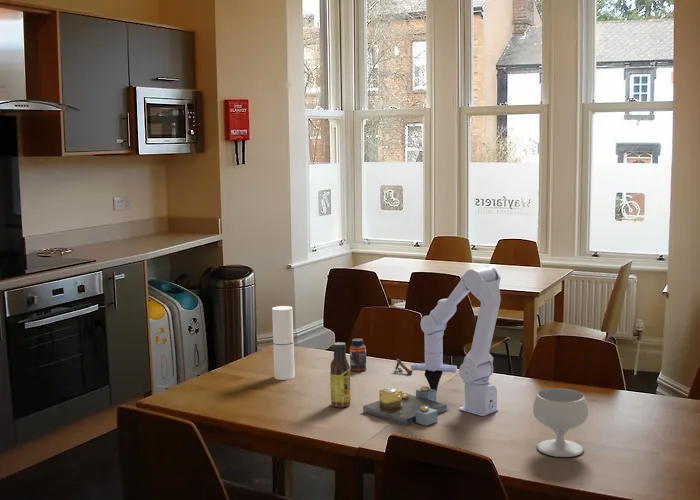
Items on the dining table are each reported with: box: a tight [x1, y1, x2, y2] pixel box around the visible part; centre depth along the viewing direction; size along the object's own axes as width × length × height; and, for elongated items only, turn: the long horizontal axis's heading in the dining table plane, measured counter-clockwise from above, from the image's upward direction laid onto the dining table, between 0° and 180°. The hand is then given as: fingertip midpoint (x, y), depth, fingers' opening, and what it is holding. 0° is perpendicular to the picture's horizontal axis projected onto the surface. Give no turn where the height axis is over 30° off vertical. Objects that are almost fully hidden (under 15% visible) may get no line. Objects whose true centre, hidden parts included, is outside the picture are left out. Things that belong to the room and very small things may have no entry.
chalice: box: [532, 387, 589, 458], centre depth 212 cm, size 14×14×15 cm
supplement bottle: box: [349, 338, 367, 373], centre depth 293 cm, size 6×6×11 cm
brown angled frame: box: [394, 358, 413, 376], centre depth 289 cm, size 2×8×4 cm, turn 38°
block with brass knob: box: [416, 406, 439, 426], centre depth 235 cm, size 4×5×4 cm
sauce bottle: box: [329, 341, 352, 409], centre depth 252 cm, size 6×6×20 cm
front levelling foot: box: [415, 385, 437, 402], centre depth 255 cm, size 5×4×4 cm
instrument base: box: [362, 387, 448, 427], centre depth 245 cm, size 18×18×7 cm
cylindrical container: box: [271, 305, 296, 381], centre depth 285 cm, size 7×7×25 cm
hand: (434, 393), depth 258 cm, fingers closed
